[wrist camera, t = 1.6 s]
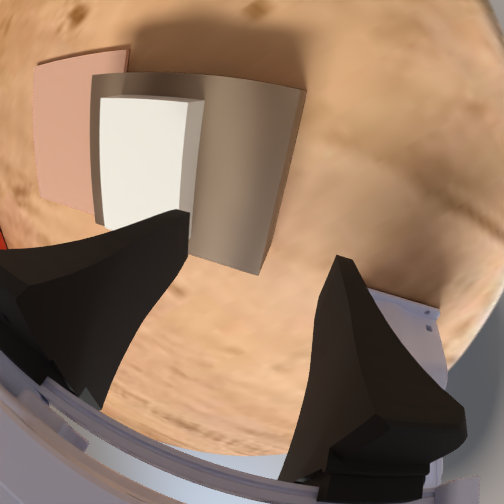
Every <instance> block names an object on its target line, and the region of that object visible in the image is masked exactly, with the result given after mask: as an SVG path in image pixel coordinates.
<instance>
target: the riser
mask: <svg viewBox="0 0 504 504" xmlns="http://www.w3.org/2000/svg"><path fill="white" fill-rule="evenodd" d="M306 94H307V91H305V90H301V89H296V88H292V87H287V86H282V85H277V84H272V83H267V82H261V81H255V80H249V79H242V78H234V77H226V76H217V75H207V74H194V73H176V72H124V73H108V74H97V75H92V83H91V99H90V164H91V181H92V194H93V204H94V213H95V221H96V223H97V224H100V225H103V226H105V224H104V215H103V205H102V192H101V176H100V101H101V98H104V97H110V96H116V95H150V96H166V97H178V98H189V99H198V100H205V103H204V110H203V117H202V125H201V133H200V141H199V150H198V160H197V169H196V180H195V191H194V203H193V216H192V230H191V237H190V238H189V242H188V254H190V255H193V256H196V257H199V258H203V259H206V260H209V261H212V262H215V263H218V264H221V265H225V266H228V267H231V268H234V269H237V270H241V271H244V272H247V273H250V274H254V275H257V276H258V275H259V273H260V270H261V268H262V265H263V263H264V261H265V258H266V256H267V253H268V251H269V248H270V246H271V242H272V238H273V234H274V230H275V226H276V222H277V218H278V214H279V209H280V205H281V201H282V197H283V193H284V189H285V185H286V180H287V176H288V172H289V168H290V163H291V159H292V155H293V151H294V146H295V142H296V138H297V133H298V129H299V125H300V120H301V116H302V111H303V107H304V103H305V98H306Z"/></svg>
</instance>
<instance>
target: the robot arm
mask: <svg viewBox="0 0 504 504" xmlns="http://www.w3.org/2000/svg"><path fill="white" fill-rule="evenodd" d="M189 224H190V212H186V211H182V210H178V209H174V210H170V211H166V212H163V213H160V214H158V215H155V216H152V217H149V218H147V219H144V220H141V221H139V222H136V223H133V224H131V225H128V226H125V227H122V228H119V229H116V230H113V231H110V232H107V233H104V234H101V235H97V236H94V237H90V238H86V239H82V240H78V241H73V242H68V243H63V244H58V245H52V246H45V247H36V248H25V249H0V504H185V503H183V502H180V501H178V500H175V499H173V498H170V497H167V496H165V495H163V494H161V493H158V492H156V491H153V490H151V489H149V488H147V487H145V486H143V485H141V484H139V483H137V482H135V481H133V480H131V479H129V478H127V477H125V476H123V475H121V474H119V473H117V472H116V471H114V470H112V469H110V468H109V467H107V466H105V465H103V464H101V463H100V462H98V461H97V460H95V459H94V458H92V457H90V456H89V455H87V454H86V453H85V450H86V449H87V447H88V445H89V441H87V440H86V439H85V438H83V437H82V436H81V435H80V434H79V433H77V432H76V431H75V430H74V429H73V428H72V427H71V426H70V425H69V424H68V423H67V422H66V421H65V420H64V419H63V418H62V417H60V416H59V415H58V414H57V413H56V412H54V411H53V410H52V409H51V408H50V407H49V403H50V404H51V405H52V406H53V407H55V408H56V409H58V410H59V411H60V412H62V413H63V414H64V415H66V416H67V417H69V418H70V419H71V420H73V421H74V422H76V423H77V424H79V425H80V426H82V427H83V428H85V429H86V430H88V431H89V432H91V433H92V434H94V435H96V436H97V437H99V438H101V439H102V440H104V441H106V442H107V443H109V444H111V445H113V446H115V447H116V448H118V449H120V450H122V451H124V452H125V453H127V454H129V455H131V456H133V457H135V458H137V459H139V460H141V461H143V462H145V463H147V464H150V465H152V466H154V467H156V468H158V469H161V470H163V471H165V472H168V473H170V474H173V475H175V476H177V477H180V478H183V479H185V480H188V481H191V482H193V483H196V484H199V485H202V486H205V487H208V488H211V489H214V490H218V491H221V492H224V493H228V494H231V495H235V496H239V497H243V498H247V499H251V500H255V501H260V502H265V503H270V504H479V496H480V476H478V475H476V476H472V477H466V478H460V479H455V480H452V481H449V482H446V483H443V484H441V475H442V473H443V456H445V455H447V454H449V453H451V452H452V451H454V450H456V449H457V448H459V447H460V446H461V445H462V444H463V443H464V441H465V440H466V438H467V427H466V418H465V411H464V407H463V406H462V405H461V404H459V403H458V402H457V401H456V400H455V399H454V398H453V397H452V396H450V395H449V394H448V393H447V392H446V391H445V389H446V384H447V376H448V373H447V364H446V360H445V355H444V351H443V346H442V342H441V338H440V334H439V330H438V327H437V323H436V320H437V318H438V317H439V316H440V311H439V309H437V308H434V307H431V306H427V305H424V304H421V303H417V302H414V301H411V300H407V299H404V298H400V297H397V296H394V295H390V294H387V293H384V292H380V291H377V290H374V289H370V288H367V286H366V284H365V283H364V281H363V279H362V277H361V275H360V273H359V271H358V269H357V267H356V265H355V263H354V262H353V260H352V259H348V258H345V257H342V256H339V255H336V257H335V260H334V262H333V265H332V267H331V270H330V272H329V274H328V277H327V279H326V281H325V284H324V286H323V288H322V291H321V293H320V295H319V299H318V304H317V309H316V314H315V319H314V330H313V341H312V352H311V363H310V372H309V378H308V383H307V388H306V392H305V396H304V400H303V404H302V408H301V411H300V415H299V419H298V422H297V426H296V429H295V432H294V435H293V439H292V442H291V445H290V448H289V451H288V454H287V456H286V459H285V462H284V465H283V468H282V470H281V473H280V475H279V478H278V480H274V479H269V478H264V477H260V476H256V475H252V474H248V473H244V472H241V471H237V470H233V469H230V468H227V467H224V466H220V465H217V464H214V463H211V462H208V461H205V460H202V459H200V458H197V457H194V456H191V455H189V454H186V453H184V452H181V451H179V450H176V449H174V448H171V447H169V446H167V445H164V444H162V443H160V442H157V441H155V440H153V439H151V438H149V437H147V436H145V435H143V434H140V433H138V432H136V431H134V430H133V429H131V428H129V427H127V426H125V425H123V424H121V423H119V422H117V421H116V420H114V419H112V418H110V417H109V416H107V415H105V414H103V413H102V412H100V410H102V407H103V404H104V401H105V398H106V396H107V393H108V391H109V388H110V385H111V383H112V381H113V378H114V376H115V374H116V371H117V369H118V367H119V365H120V363H121V361H122V359H123V357H124V355H125V353H126V351H127V349H128V347H129V345H130V343H131V341H132V339H133V337H134V336H135V334H136V332H137V330H138V328H139V327H140V325H141V323H142V322H143V320H144V319H145V317H146V316H147V315H148V313H149V312H150V311H151V309H152V308H153V307H154V305H155V304H156V303H157V301H158V300H159V299H160V297H161V296H162V295H163V293H164V292H165V291H166V290H167V288H168V287H169V286H170V284H171V283H172V282H173V280H174V279H175V278H176V276H177V275H178V273H179V271H180V270H181V268H182V266H183V264H184V262H185V261H186V259H187V257H188V242H189ZM425 311H427V312H425Z"/></svg>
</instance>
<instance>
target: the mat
mask: <svg viewBox="0 0 504 504" xmlns="http://www.w3.org/2000/svg"><path fill="white" fill-rule="evenodd" d="M129 51H130V50H128V49H126V50H116V51H108V52H101V53H94V54H88V55H82V56H77V57H72V58H67V59H63V60H58V61H54V62H50V63H46V64H42V65H39V66H35V67H34V79H33V137H34V151H35V162H36V171H37V179H38V186H39V192H40V197H41V198H44V199H47V200H50V201H53V202H56V203H59V204H62V205H65V206H68V207H71V208H74V209H77V210H80V211H83V212H86V213H89V214H92V215H95V213H94V204H93V194H92V181H91V164H90V99H91V83H92V75H97V74H108V73H124V72H127V67H128V59H129Z"/></svg>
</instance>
